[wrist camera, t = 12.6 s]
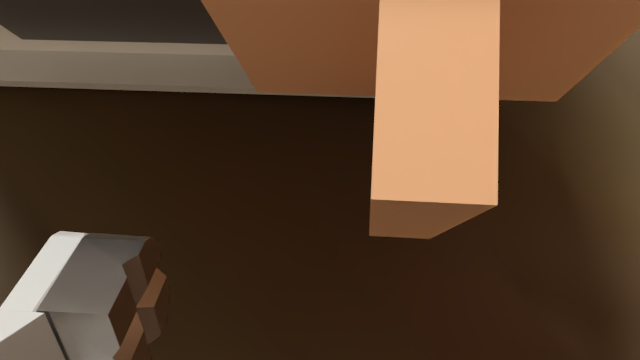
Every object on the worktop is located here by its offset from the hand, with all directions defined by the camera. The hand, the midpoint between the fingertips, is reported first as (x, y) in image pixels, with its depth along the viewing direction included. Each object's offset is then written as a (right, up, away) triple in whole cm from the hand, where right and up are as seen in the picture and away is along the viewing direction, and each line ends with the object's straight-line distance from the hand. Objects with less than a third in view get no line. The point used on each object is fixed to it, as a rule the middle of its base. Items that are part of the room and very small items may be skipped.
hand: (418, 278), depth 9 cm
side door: (+1, +2, +7) cm, 8 cm away
